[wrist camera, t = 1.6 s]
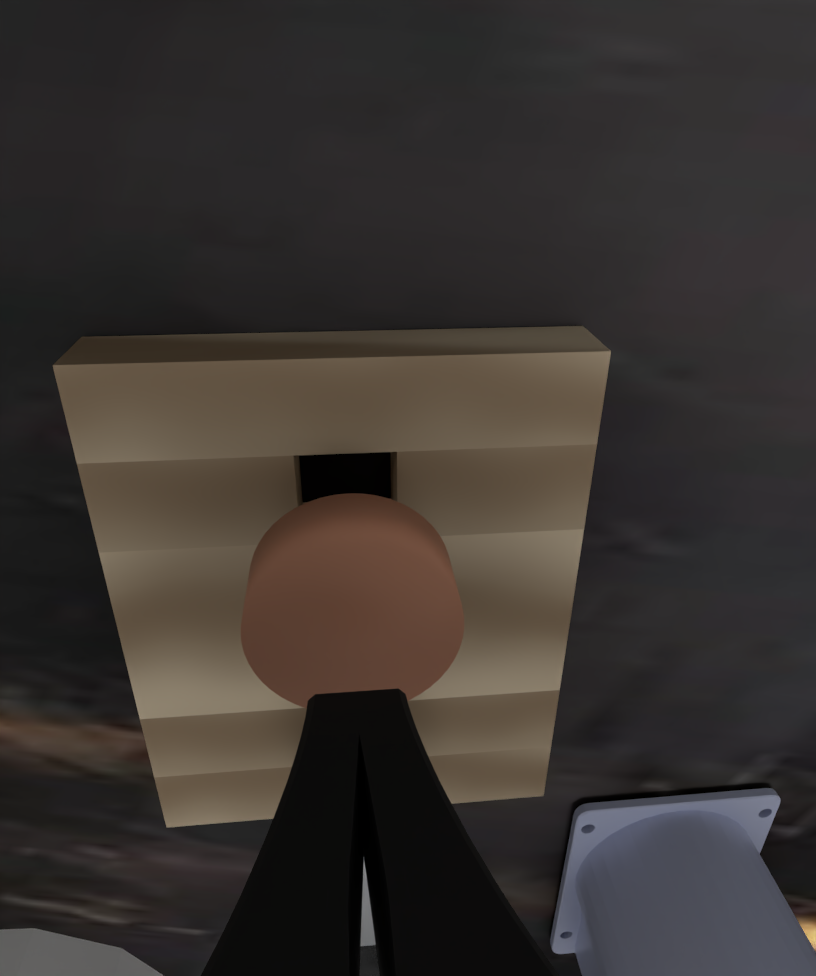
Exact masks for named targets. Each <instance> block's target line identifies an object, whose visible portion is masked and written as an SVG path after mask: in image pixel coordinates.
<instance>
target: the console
mask: <svg viewBox="0 0 816 976" xmlns="http://www.w3.org/2000/svg"><path fill="white" fill-rule="evenodd" d="M610 355H611V351H610V350H609V349H608V348H607V347H606V346H605V345H604V344H602V343H601V342H600V341H599V340H598V339H597V338H596V337H595V336H593V335H592V334H591V333H590V332H589V331H588V330H587V329H586V328H585V327H583V326H556V327H510V328H464V329H417V330H371V331H325V332H279V333H232V334H186V335H140V336H93V337H81V338H80V339H79V340H78V341H77V342H76V343H75V344H74V345H73V346H72V347H71V348H70V349H69V350H68V351H67V352H66V353H65V354H64V355H63V356H61V357H60V358H59V359H58V360H57V361H56V362H55V363H54V364H53V369H54V373H55V377H56V381H57V385H58V389H59V393H60V397H61V401H62V405H63V410H64V414H65V418H66V422H67V426H68V430H69V434H70V438H71V442H72V446H73V450H74V454H75V458H76V462H77V466H78V470H79V474H80V478H81V482H82V487H83V491H84V495H85V499H86V503H87V507H88V511H89V515H90V519H91V523H92V527H93V531H94V535H95V539H96V543H97V547H98V551H99V555H100V559H101V564H102V568H103V572H104V576H105V580H106V584H107V588H108V592H109V596H110V600H111V604H112V608H113V612H114V616H115V620H116V624H117V628H118V632H119V637H120V641H121V645H122V649H123V653H124V657H125V661H126V665H127V669H128V673H129V677H130V681H131V685H132V689H133V693H134V697H135V701H136V705H137V709H138V714H139V718H140V722H141V726H142V730H143V734H144V738H145V742H146V746H147V750H148V754H149V758H150V762H151V766H152V770H153V774H154V778H155V782H156V786H157V791H158V795H159V799H160V803H161V807H162V811H163V815H164V819H165V823H166V827H178V826H190V825H202V824H214V823H226V822H238V821H250V820H262V819H273V818H274V816H275V813H276V810H277V808H278V805H279V802H280V799H281V797H282V794H283V791H284V789H285V786H286V783H287V780H288V777H289V774H290V771H291V768H292V765H293V762H294V758H295V755H296V752H297V749H298V745H299V741H300V738H301V734H302V730H303V725H304V721H305V716H306V710H307V708H304V707H301V706H299V705H296V704H294V703H291V702H289V701H288V700H286V699H284V698H282V697H280V696H279V695H277V694H276V693H274V692H273V691H272V690H270V689H269V688H268V687H267V686H266V685H265V684H264V683H263V682H261V680H260V679H259V678H258V677H257V676H256V674H255V673H254V672H253V670H252V668H251V667H250V665H249V664H248V661H247V659H246V657H245V654H244V651H243V647H242V643H241V621H242V614H243V608H244V602H245V596H246V589H247V583H248V577H249V571H250V565H251V561H252V558H253V554H254V552H255V550H256V548H257V546H258V543H259V542H260V540H261V539H262V537H263V536H264V534H265V533H266V532H267V531H268V530H269V528H270V527H271V526H272V525H273V524H274V523H275V522H276V521H278V520H279V519H280V518H281V517H282V516H284V515H285V514H287V513H288V512H290V511H291V510H293V509H294V508H296V507H298V506H300V505H303V504H305V503H307V502H303V500H302V487H301V474H300V460H299V455H324V454H351V453H377V452H391V498H390V499H392V500H394V501H397V502H399V503H402V504H404V505H406V506H408V507H409V508H411V509H413V510H415V511H416V512H417V513H419V514H420V515H421V516H423V517H424V518H425V519H426V520H427V521H428V522H429V523H430V524H431V525H432V526H433V527H434V528H435V530H436V531H437V532H438V533H439V535H440V537H441V538H442V540H443V542H444V544H445V546H446V549H447V552H448V554H449V558H450V562H451V566H452V569H453V573H454V577H455V581H456V585H457V588H458V592H459V596H460V600H461V603H462V608H463V613H464V633H463V639H462V643H461V646H460V649H459V651H458V653H457V655H456V657H455V660H454V661H453V663H452V664H451V666H450V667H449V669H448V670H447V671H446V672H445V673H444V674H443V676H442V677H441V678H440V679H439V680H438V681H437V682H435V683H434V684H433V685H432V686H431V687H430V688H428V689H427V690H425V691H424V692H423V693H421V694H420V695H418V696H416V697H414V698H412V699H411V700H409V701H408V705H409V708H410V711H411V714H412V717H413V720H414V723H415V725H416V728H417V731H418V733H419V736H420V738H421V741H422V743H423V745H424V748H425V750H426V752H427V755H428V757H429V759H430V761H431V764H432V766H433V768H434V770H435V772H436V774H437V776H438V778H439V781H440V783H441V785H442V787H443V789H444V790H445V792H446V794H447V796H448V798H449V800H450V802H451V804H453V803H465V802H477V801H489V800H501V799H513V798H525V797H537V796H544V789H545V783H546V776H547V770H548V763H549V757H550V750H551V743H552V737H553V730H554V724H555V717H556V710H557V704H558V697H559V691H560V684H561V678H562V671H563V664H564V658H565V651H566V645H567V638H568V631H569V625H570V618H571V612H572V605H573V599H574V592H575V585H576V579H577V572H578V566H579V559H580V552H581V546H582V539H583V533H584V526H585V520H586V513H587V506H588V500H589V493H590V487H591V480H592V473H593V467H594V460H595V454H596V447H597V441H598V434H599V427H600V421H601V414H602V408H603V401H604V394H605V388H606V381H607V375H608V368H609V362H610Z"/></svg>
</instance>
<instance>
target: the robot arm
mask: <svg viewBox="0 0 816 976" xmlns="http://www.w3.org/2000/svg"><path fill="white" fill-rule="evenodd" d="M780 801H781V799H780V797H779V796H778V794H777V793H776V791H775V790H774V789H772V788H758V789H747V790H735V791H723V792H711V793H700V794H688V795H676V796H664V797H653V798H641V799H629V800H617V801H606V802H594V803H586V804H582V805H580V806H579V807H578V808H576V810H575V812H574V815H573V820H572V825H571V831H570V836H569V841H568V847H567V852H566V858H565V863H564V868H563V874H562V879H561V884H560V890H559V895H558V900H557V906H556V911H555V917H554V922H553V927H552V933H551V938H550V944H551V948H552V951H553V952H554V953H557V954H567V953H576V957H577V960H578V964H579V967H580V970H581V974H582V976H816V952H815V950H814V949H813V947H812V945H811V943H810V942H809V940H808V938H807V936H806V935H805V933H804V931H803V929H802V928H801V926H800V924H799V922H798V921H797V919H796V917H795V915H794V914H793V912H792V910H791V908H790V907H789V905H788V903H787V901H786V900H785V898H784V896H783V894H782V893H781V891H780V889H779V887H778V886H777V884H776V882H775V880H774V879H773V877H772V875H771V873H770V872H769V870H768V868H767V866H766V865H765V863H764V861H763V859H762V858H761V856H760V852H761V849H762V847H763V844H764V842H765V839H766V837H767V834H768V832H769V829H770V827H771V824H772V822H773V819H774V817H775V814H776V812H777V809H778V807H779V804H780ZM364 862H365V869H366V876H367V884H368V891H369V899H370V906H371V913H372V921H373V928H374V935H375V943H376V950H377V957H378V965H379V972H380V976H559V974H558V973H557V972H556V970H555V969H554V967H553V966H552V965H551V963H550V962H549V961H548V959H547V958H546V956H545V955H544V954H543V952H542V951H541V949H540V948H539V947H538V945H537V944H536V942H535V941H534V939H533V938H532V936H531V935H530V933H529V932H528V930H527V929H526V928H525V926H524V925H523V923H522V922H521V920H520V919H519V917H518V916H517V914H516V913H515V911H514V910H513V908H512V907H511V905H510V903H509V902H508V900H507V899H506V897H505V896H504V894H503V893H502V891H501V889H500V888H499V886H498V885H497V883H496V881H495V880H494V878H493V876H492V875H491V873H490V871H489V870H488V868H487V866H486V865H485V863H484V861H483V860H482V858H481V856H480V855H479V853H478V851H477V850H476V848H475V846H474V845H473V843H472V841H471V839H470V837H469V836H468V834H467V832H466V830H465V828H464V827H463V825H462V823H461V821H460V819H459V817H458V815H457V813H456V812H455V810H454V808H453V806H452V804H451V802H450V800H449V798H448V796H447V794H446V792H445V790H444V789H443V787H442V785H441V783H440V781H439V778H438V776H437V774H436V772H435V770H434V768H433V766H432V764H431V761H430V759H429V757H428V755H427V752H426V750H425V748H424V745H423V743H422V741H421V738H420V736H419V733H418V731H417V728H416V725H415V723H414V720H413V717H412V714H411V711H410V708H409V705H408V701H407V697H406V694H405V693H404V692H402V691H401V690H400V689H398V688H397V689H383V690H368V691H354V692H339V693H325V694H315V695H314V696H313V697H311V698H310V699H309V700H308V703H307V710H306V716H305V721H304V725H303V730H302V734H301V738H300V741H299V745H298V749H297V752H296V755H295V758H294V762H293V765H292V768H291V771H290V774H289V777H288V780H287V783H286V786H285V789H284V791H283V794H282V797H281V799H280V802H279V805H278V808H277V810H276V813H275V816H274V818H273V821H272V824H271V826H270V829H269V831H268V834H267V836H266V839H265V841H264V844H263V846H262V848H261V850H260V853H259V855H258V857H257V860H256V862H255V864H254V866H253V869H252V871H251V873H250V876H249V878H248V880H247V882H246V885H245V887H244V889H243V892H242V894H241V896H240V898H239V900H238V903H237V905H236V907H235V909H234V911H233V913H232V915H231V917H230V919H229V921H228V923H227V926H226V928H225V930H224V932H223V934H222V936H221V938H220V940H219V942H218V944H217V946H216V948H215V949H214V951H213V953H212V955H211V957H210V959H209V961H208V963H207V965H206V967H205V969H204V971H203V973H202V975H201V976H359V972H360V945H361V918H362V891H363V863H364Z"/></svg>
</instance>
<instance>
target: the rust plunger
mask: <svg viewBox="0 0 816 976" xmlns="http://www.w3.org/2000/svg"><path fill="white" fill-rule="evenodd" d="M463 633H464V613H463V608H462V603H461V600H460V596H459V592H458V588H457V585H456V581H455V577H454V573H453V569H452V566H451V562H450V558H449V554H448V552H447V549H446V546H445V544H444V542H443V540H442V538H441V537H440V535H439V533H438V532H437V531H436V530H435V528H434V527H433V526H432V525H431V524H430V523H429V522H428V521H427V520H426V519H425V518H424V517H423V516H421V515H420V514H419V513H417V512H416V511H415V510H413V509H411V508H409V507H408V506H406V505H404V504H402V503H399V502H397V501H394V500H392V499H389V498H385V497H381V496H377V495H370V494H357V493H347V494H337V495H331V496H326V497H322V498H318V499H315V500H312V501H309V502H307V503H305V504H303V505H300V506H298V507H296V508H294V509H293V510H291V511H290V512H288V513H287V514H285V515H284V516H282V517H281V518H280V519H279V520H278V521H276V522H275V523H274V524H273V525H272V526H271V527H270V528H269V530H268V531H267V532H266V533H265V534H264V536H263V537H262V539H261V540H260V542H259V543H258V546H257V548H256V550H255V552H254V554H253V558H252V561H251V565H250V571H249V577H248V583H247V589H246V596H245V602H244V608H243V614H242V621H241V643H242V647H243V651H244V654H245V657H246V659H247V661H248V664H249V665H250V667H251V668H252V670H253V672H254V673H255V674H256V676H257V677H258V678H259V679H260V680H261V682H263V683H264V684H265V685H266V686H267V687H268V688H269V689H270V690H272V691H273V692H274V693H276V694H277V695H279V696H280V697H282V698H284V699H286V700H288V701H289V702H291V703H294V704H296V705H299V706H301V707H304V708H307V703H308V700H309V699H310V698H311V697H313V696H314V695H315V694H325V693H339V692H354V691H368V690H383V689H397V688H398V689H400V690H401V691H402V692H404V693H405V694H406V697H407V701H409V700H411V699H412V698H414V697H416V696H418V695H420V694H421V693H423V692H424V691H425V690H427V689H428V688H430V687H431V686H432V685H433V684H434V683H435V682H437V681H438V680H439V679H440V678H441V677H442V676H443V674H444V673H445V672H446V671H447V670H448V669H449V667H450V666H451V664H452V663H453V661H454V660H455V657H456V655H457V653H458V651H459V649H460V646H461V643H462V639H463Z"/></svg>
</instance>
